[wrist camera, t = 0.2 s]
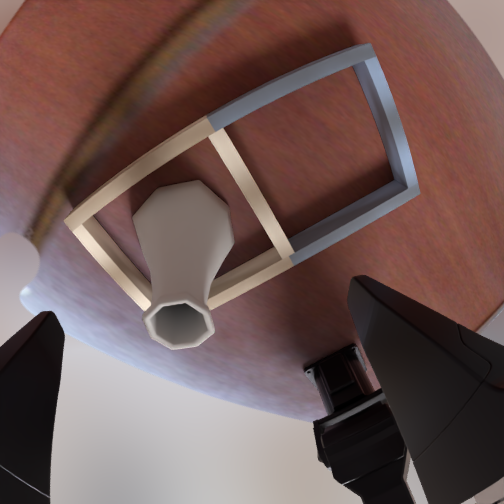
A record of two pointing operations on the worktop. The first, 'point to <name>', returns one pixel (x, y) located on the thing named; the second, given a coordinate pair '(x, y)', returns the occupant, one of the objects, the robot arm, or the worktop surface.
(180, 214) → the flask
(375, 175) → the worktop surface
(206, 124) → the caddy
